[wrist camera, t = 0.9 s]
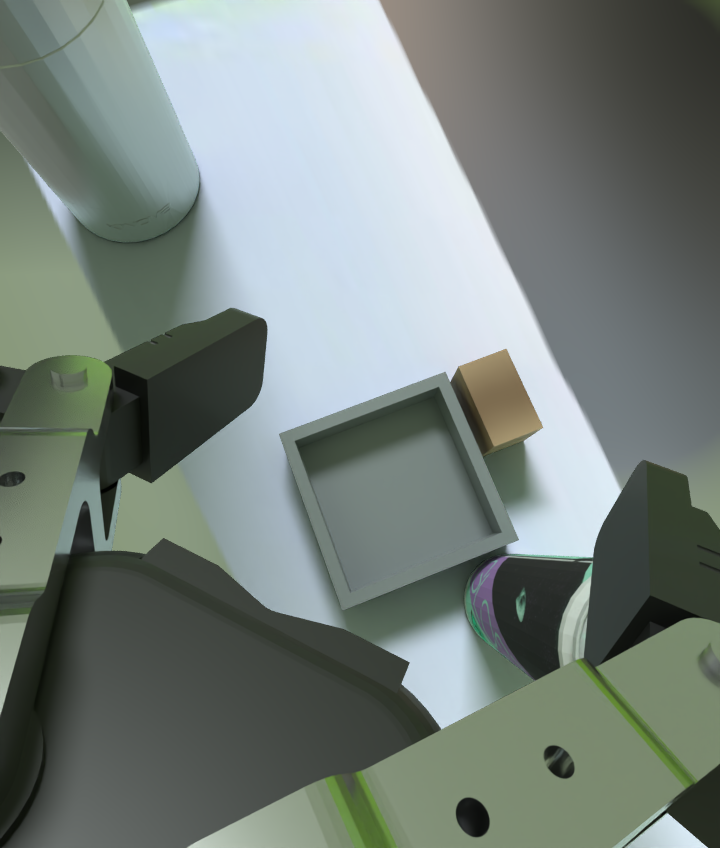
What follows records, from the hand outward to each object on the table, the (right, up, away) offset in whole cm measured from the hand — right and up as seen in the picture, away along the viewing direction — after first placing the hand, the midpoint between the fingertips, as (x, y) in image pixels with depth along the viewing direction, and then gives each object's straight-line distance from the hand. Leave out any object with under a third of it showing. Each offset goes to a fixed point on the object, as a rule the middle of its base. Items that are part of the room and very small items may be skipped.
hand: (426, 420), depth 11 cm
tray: (+1, -4, +23) cm, 23 cm away
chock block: (+7, +1, +24) cm, 25 cm away
